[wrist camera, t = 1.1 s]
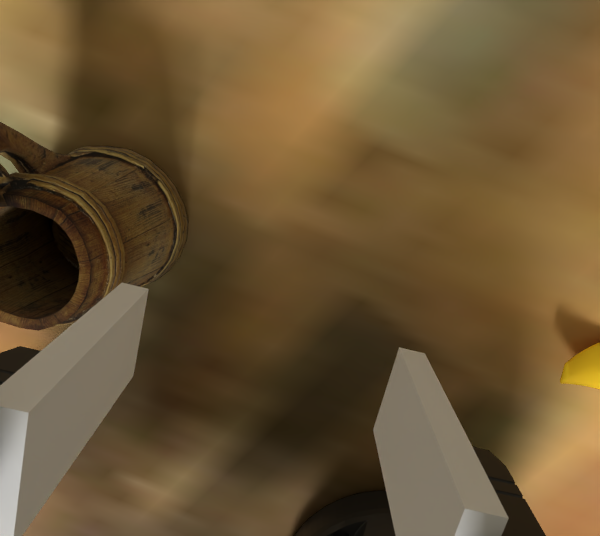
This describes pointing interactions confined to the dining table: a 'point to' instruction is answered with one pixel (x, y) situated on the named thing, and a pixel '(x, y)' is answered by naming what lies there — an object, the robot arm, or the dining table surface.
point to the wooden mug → (80, 228)
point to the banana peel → (583, 368)
